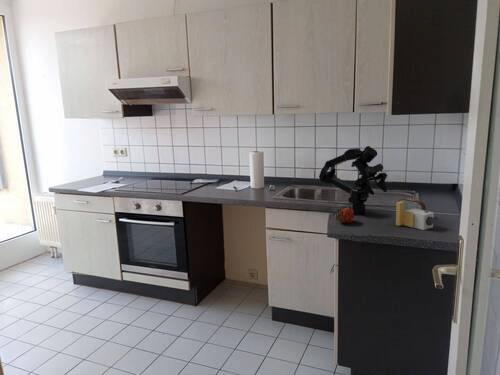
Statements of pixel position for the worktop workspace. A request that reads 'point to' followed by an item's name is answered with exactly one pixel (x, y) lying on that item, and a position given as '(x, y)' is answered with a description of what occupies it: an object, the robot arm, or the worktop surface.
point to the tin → (412, 204)
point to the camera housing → (422, 218)
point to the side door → (403, 216)
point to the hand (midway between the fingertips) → (379, 193)
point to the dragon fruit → (345, 215)
